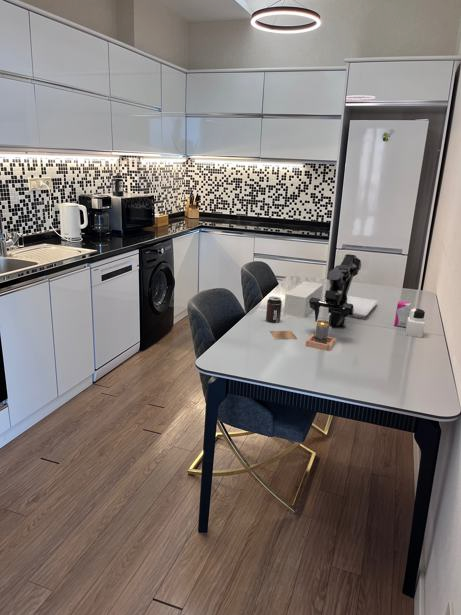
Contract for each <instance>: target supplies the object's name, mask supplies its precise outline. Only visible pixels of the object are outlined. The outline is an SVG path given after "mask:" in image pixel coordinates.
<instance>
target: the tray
mask: <svg viewBox="0 0 461 615" xmlns="http://www.w3.org/2000/svg"><path fill="white" fill-rule="evenodd" d="M347 303H349V304H353V308H354V312H353V315H349V317H352V318H356V319H363V318H364V317H366V316H367V315H368V314H369V313H370V312H371V311H372V310H373V308H374V307H375V306H376V304H377V303H378V300H376V299H370V298H365V297H359V296H358V297H357V296H354V295H353V296H351V295H347Z"/></svg>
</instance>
